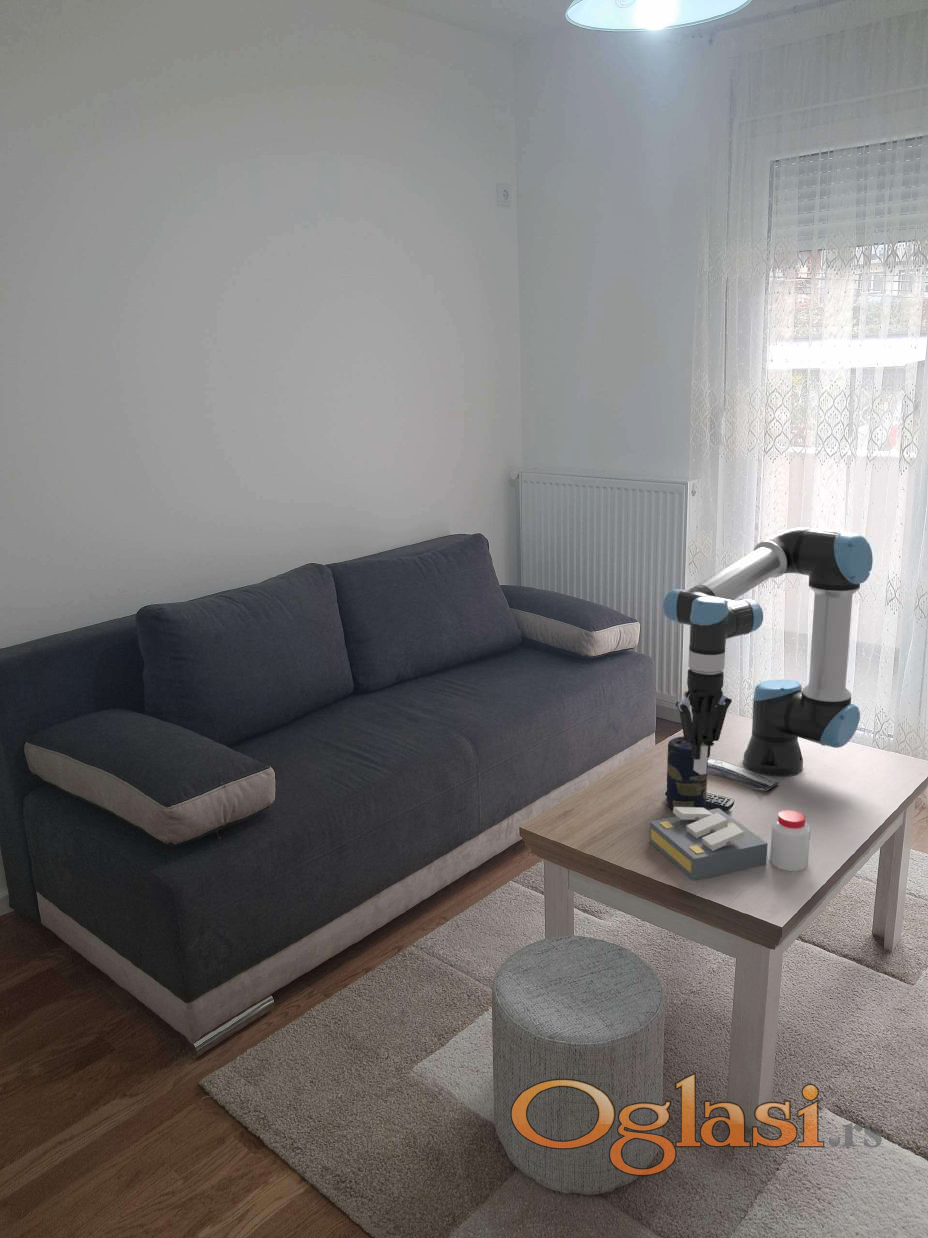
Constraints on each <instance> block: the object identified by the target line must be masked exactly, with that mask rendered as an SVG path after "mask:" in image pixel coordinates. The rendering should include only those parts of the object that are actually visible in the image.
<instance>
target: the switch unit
mask: <svg viewBox="0 0 928 1238" xmlns="http://www.w3.org/2000/svg"><path fill="white" fill-rule="evenodd" d="M707 810H708V811H709V812H710V813H712V814H715V813H717V812H718V813H719V814H720V815H722V816H723V817H724V818H726V819H727V822H728V825H727V826H724V827H722V828H720V829H717V830H715V832H716V831H719V830H721V829H723V828H726V827H728V826H731V825H733V824H734V825H735V826H737V827H738V828H740V829H741V830H742V831H744V838H741V839H739V840H737V841H734V842H732V843H731V845H730V846H728V845H725V846H723V847H721V848H718V849H716V850H714V851H712V850H711V849H709V848H708V847H707V846H706V845H704V844H703V841H702V837H705V836H707V835H709V834H712V833H711V832H710V833H708V834H705V835H703V836H701V837H698V838H696V837H694V836H693V835H692V834H691V833H689V832H688V831H687V826H686V825H689V824H691V823H694V822H696V821H695V820H684V819H680V818H679V817H678V816H676V815H675V816H671V817H666V818H663V819H661V818H660V819H657V820H656V819H655V820H651V821H650V822H649V843H650V844H651V845H652V846H654V848H656V849H657V850H658V851H659V852H660V853H661V854H663V856H665V857H666V858H667V859H668V860H669V861H670V862H672V863H673V864H674V865H675V866H676V867H677V868H678V869H680V870H681V871H682V872H683V873H684V874H685V875H686V876H688V877H689V878H690V879H691V880H692V881H698V880H702V879H706V878H707V879H708V878H711V877H716V876H721V875H725V874H729V873H734V872H737V871H744V870H747V869H752V868H756V867H760V866H765V865H767V860H768V859H767V857H768V845H769V843H768V842H767V841H765V840H764V839H762V838H761V837H760V836H758V835H757V834H756V833H754V832H753V831H752V830H750V829H749V828H747V827H746V826H744V825H743V824H742V823H740V822H738V821H737V820H736V819H735V818H733V817H732V816H731V815H729V814H728V813H726V812H725V811H723V810H722V809H721V808H719V807H718V808H712V809H707Z"/></svg>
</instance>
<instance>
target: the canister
mask: <svg viewBox="0 0 928 1238" xmlns="http://www.w3.org/2000/svg"><path fill="white" fill-rule="evenodd" d="M666 763H667V765H666V768H667V769H666V801H665V802H666V804H667V806H668V807H669V808H670V809H671V810H673V809H674V807H697V808H705V807H706V804H707V789H708V788H707V787H708V785H707V784H708V771H709V770H708V767H709V766H708V765H709V764H708V763H709V758H707V769H706V774H701V775H700V774H699V773H697V772H696V771H694V758H692V745H691V744H690V743H688V742H686V741H685V740H684V735H683V736H677V737H673V738H672V739H671V740H669V741H668V744H667V762H666Z"/></svg>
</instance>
